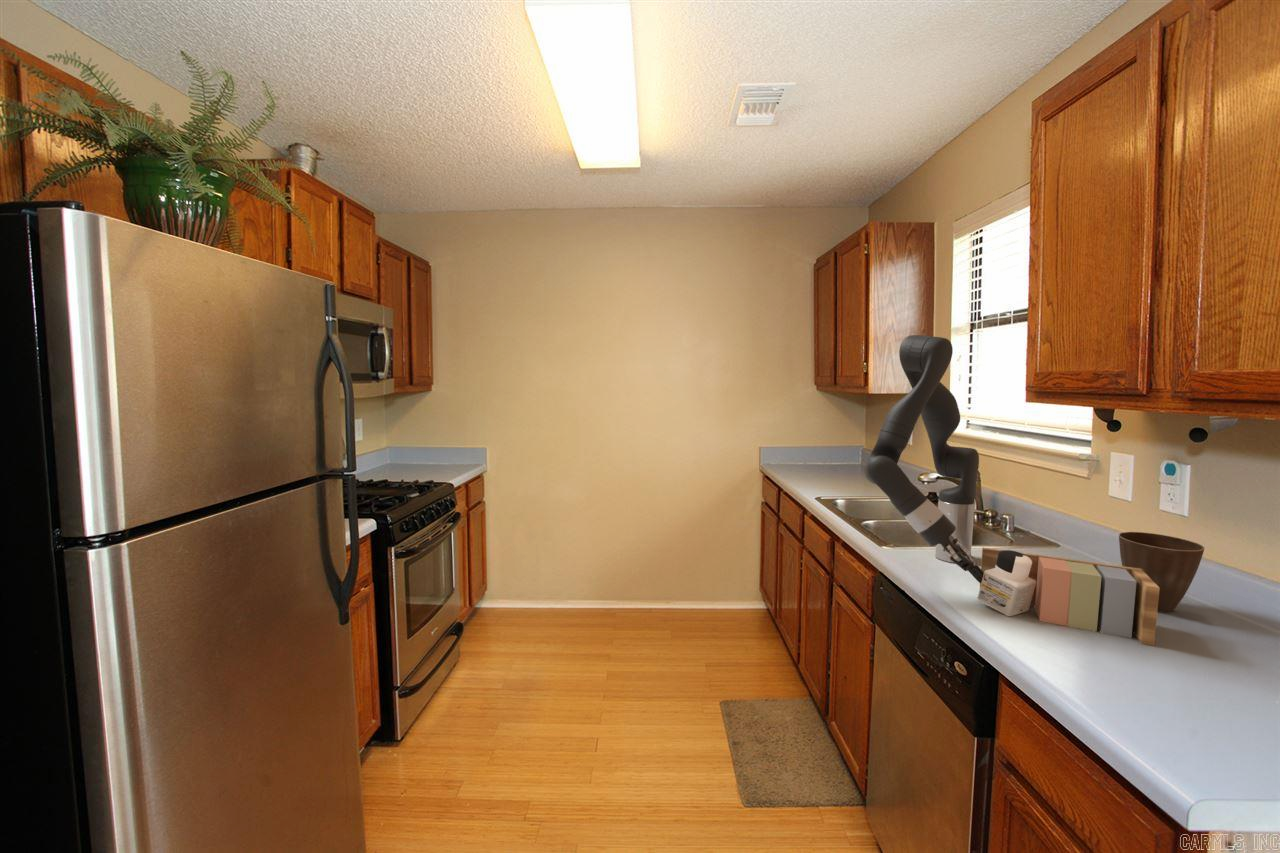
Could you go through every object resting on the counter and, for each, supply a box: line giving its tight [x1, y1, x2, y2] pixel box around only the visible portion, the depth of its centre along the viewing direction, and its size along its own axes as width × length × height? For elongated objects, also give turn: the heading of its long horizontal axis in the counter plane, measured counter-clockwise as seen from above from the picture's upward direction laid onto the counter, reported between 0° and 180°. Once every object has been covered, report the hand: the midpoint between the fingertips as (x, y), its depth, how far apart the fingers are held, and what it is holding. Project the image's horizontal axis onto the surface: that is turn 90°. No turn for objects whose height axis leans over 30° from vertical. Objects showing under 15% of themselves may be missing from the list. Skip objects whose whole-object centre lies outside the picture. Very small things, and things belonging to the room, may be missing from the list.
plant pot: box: [1118, 531, 1205, 613], centre depth 136 cm, size 15×15×16 cm
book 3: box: [1096, 565, 1136, 639], centre depth 124 cm, size 9×5×12 cm, turn 151°
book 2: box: [1066, 561, 1102, 632], centre depth 127 cm, size 9×5×12 cm, turn 151°
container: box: [977, 549, 1036, 617], centre depth 132 cm, size 8×8×13 cm
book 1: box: [1034, 557, 1072, 627], centre depth 130 cm, size 9×5×12 cm, turn 151°
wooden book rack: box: [979, 547, 1160, 647], centre depth 128 cm, size 14×30×12 cm, turn 61°
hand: (984, 580), depth 135 cm, fingers closed
